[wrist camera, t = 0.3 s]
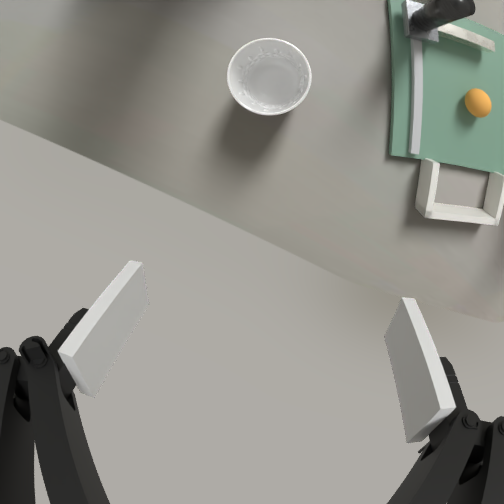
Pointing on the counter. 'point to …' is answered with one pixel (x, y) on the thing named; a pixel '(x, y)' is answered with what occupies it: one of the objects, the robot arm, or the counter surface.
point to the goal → (497, 195)
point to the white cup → (269, 76)
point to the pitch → (445, 97)
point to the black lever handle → (441, 23)
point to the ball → (478, 102)
